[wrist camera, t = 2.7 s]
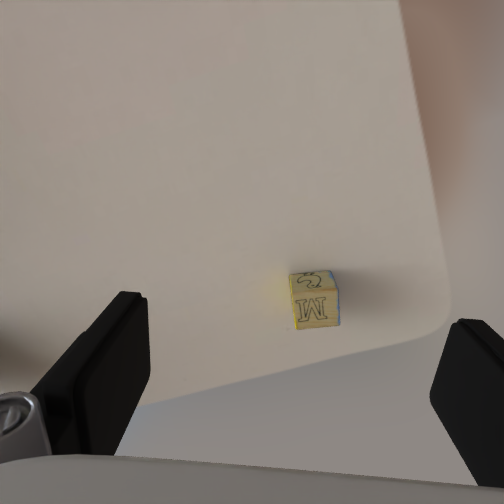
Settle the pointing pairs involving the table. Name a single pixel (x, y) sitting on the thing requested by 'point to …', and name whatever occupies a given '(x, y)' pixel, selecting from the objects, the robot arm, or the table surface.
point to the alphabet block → (315, 300)
